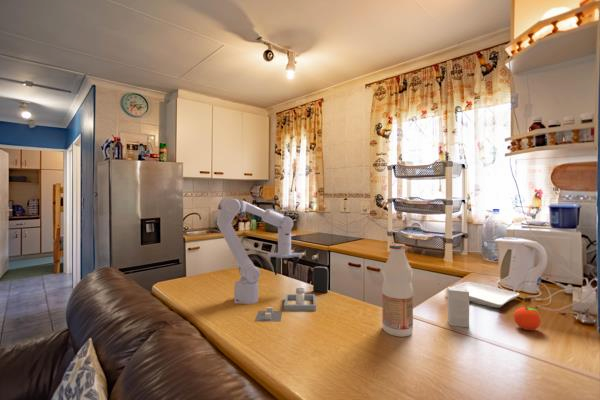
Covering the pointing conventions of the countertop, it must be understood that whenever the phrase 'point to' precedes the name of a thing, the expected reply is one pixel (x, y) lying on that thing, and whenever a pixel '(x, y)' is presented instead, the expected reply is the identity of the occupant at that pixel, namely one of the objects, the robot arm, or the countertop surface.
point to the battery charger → (320, 279)
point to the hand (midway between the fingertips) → (284, 274)
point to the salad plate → (487, 294)
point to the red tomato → (527, 318)
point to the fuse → (300, 296)
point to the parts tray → (299, 307)
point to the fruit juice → (397, 293)
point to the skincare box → (458, 306)
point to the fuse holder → (269, 315)
